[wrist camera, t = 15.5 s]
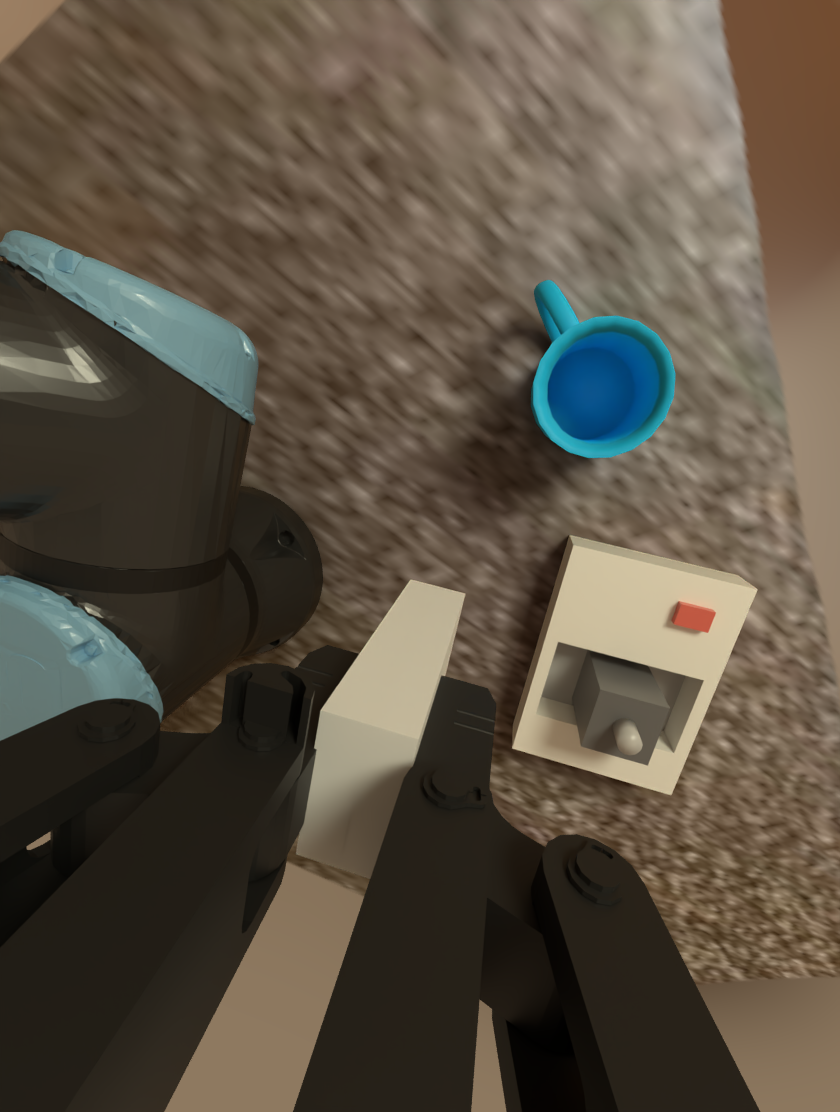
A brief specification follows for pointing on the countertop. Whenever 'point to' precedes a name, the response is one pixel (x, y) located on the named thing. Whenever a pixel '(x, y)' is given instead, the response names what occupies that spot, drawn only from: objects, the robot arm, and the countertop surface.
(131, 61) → the countertop surface
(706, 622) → the socket plate
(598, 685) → the plug
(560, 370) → the mug
